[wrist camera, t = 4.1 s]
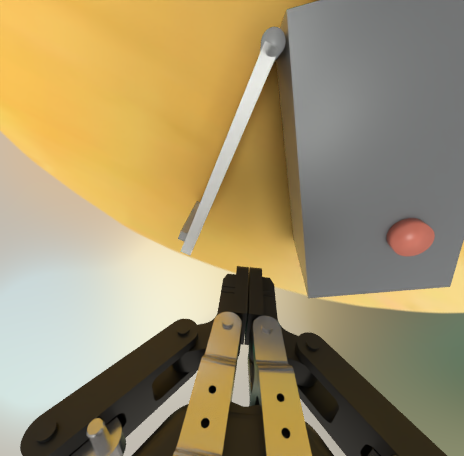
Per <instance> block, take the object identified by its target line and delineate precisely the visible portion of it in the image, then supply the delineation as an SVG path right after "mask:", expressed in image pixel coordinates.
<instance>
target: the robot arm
mask: <svg viewBox="0 0 464 456" xmlns="http://www.w3.org/2000/svg"><path fill="white" fill-rule="evenodd" d="M244 336H245V345H249V354H248V375H249V394H250V404H249V407H243V406H240V405H238V404H235V403H233V402H232V394H233V387H234V380H235V372H236V366H237V359H238V356H239V353H240V345H241V344H243V343H244ZM197 370H198V373H197V376H196V380H195V383H194V387H193V390H192V394H191V398H190V401H189V404H188V405H185V406H183V407H181V408H179V409H178V410H176V411H175V412H174V413H173V414H171V415H170V416H169V417H168V418H167V419H166V420H165V421H164V422H163V423H162V425H161V426H160V427H159V428H158V429H157V430H156V431H155V432H154V433H153V434H152V435H151V436H150V437H149V438H148V439H147V440H146V441H145V442H144V443H143V444H142V445H141V446H140V448H139V449H138V450H137V451H136V452H135V453H134V454H133V455H132V456H334V455H333V454H332V452H331V451H330V450H329V448H328V447H327V446H326V444H325V443H324V441H323V440H322V439H321V437H320V436H319V435H318V433H317V432H316V431H315V430H314V429H313V428H312V427H311V426H310V425H309V424H308V423H307V422H305V421H304V416H303V412H302V407H301V402H300V399H301V400H302V401H303V402H304V404H305V405H306V406H307V407H308V408H309V410H310V411H311V412H312V414H313V415H314V416H315V417H316V418H317V420H318V421H319V422H320V424H321V425H322V426H323V427H324V429H325V430H326V431H327V432H328V434H329V435H330V436H331V437H332V439H333V440H334V441H335V442H336V444H337V445H338V446H339V447H340V448H341V450H342V451H343V452H344V453H345V455H346V456H447V455H446V454H445V453H444V452H443V451H442V450H440V449H439V448H438V447H437V446H436V445H435V444H434V443H433V442H432V441H431V440H430V439H429V438H428V437H427V436H426V435H424V434H423V433H422V432H421V431H420V430H419V429H418V428H417V427H416V426H415V425H414V424H413V423H412V422H411V421H409V420H408V419H407V418H406V417H405V416H404V415H403V414H402V413H401V412H400V411H399V410H398V409H397V408H396V407H395V406H393V405H392V404H391V403H390V402H389V401H388V400H387V399H386V398H385V397H384V396H383V395H382V394H381V393H379V392H378V391H377V390H376V389H375V388H374V387H373V386H372V385H371V384H370V383H369V382H368V381H367V380H366V379H365V378H364V377H362V376H361V375H360V374H359V373H358V372H357V371H356V370H355V369H354V368H353V367H352V366H351V365H349V364H348V363H347V362H346V361H345V360H344V359H343V358H342V357H341V356H340V355H339V354H338V353H337V352H336V351H335V350H334V349H333V348H331V347H330V346H329V345H328V344H327V343H326V342H325V341H324V340H323V339H322V338H321V337H319V336H318V335H316V334H313V333H303V334H301V335H300V336H297V335H294V334H292V333H290V332H288V331H286V330H284V329H283V328H282V327H281V325H280V324H279V322H278V319H277V310H276V301H275V291H274V284H273V282H272V281H271V279H270V278H265V277H262V269H261V268H251V267H250V269H249V267H240V266H237V272H236V275H234V274H227V275H226V277H225V278H224V279H223V284H222V290H221V296H220V302H219V308H218V313H217V315H216V317H215V318H214V319H213V320H212V321H210V322H208V323H205V324H200V325H197V324H196V323H195V322H194V321H192V320H190V319H180V320H177V321H176V322H174V323H173V324H171V325H170V326H168V327H167V328H165V329H164V330H163V331H161V332H160V333H158V334H157V335H155V336H154V337H152V338H151V339H150V340H148V341H147V342H145V343H144V344H142V345H141V346H140V347H138V348H137V349H135V350H134V351H132V352H131V353H130V354H128V355H127V356H125V357H124V358H122V359H121V360H119V361H118V362H117V363H115V364H114V365H112V366H111V367H109V368H108V369H107V370H105V371H104V372H102V373H101V374H100V375H98V376H96V377H95V378H94V379H92V380H91V381H89V382H88V383H87V384H85V385H84V386H82V387H81V388H79V389H78V390H76V391H75V392H74V393H72V394H71V395H70V396H68V397H66V398H65V399H63V400H62V401H61V402H59V403H58V404H56V405H55V406H53V407H52V408H51V409H49V410H48V411H46V412H45V413H44V414H42V415H41V416H39V417H38V418H37V419H36V420H35V421H34V422H33V423H32V424H31V425H30V426H29V427H28V429H27V430H26V432H25V434H24V436H23V438H22V441H21V447H20V449H21V453H22V455H23V456H123V454H124V451H125V448H126V439H125V438H126V437H127V436H128V435H129V434H130V433H131V432H132V431H133V430H135V429H136V428H137V427H138V426H139V425H140V424H141V423H142V422H143V421H144V420H145V419H147V417H149V416H150V415H151V414H152V413H153V412H154V411H155V410H156V409H157V408H158V407H159V406H161V405H162V404H163V403H164V402H165V401H166V400H167V399H168V398H169V397H170V396H171V395H172V394H174V393H175V392H176V391H177V390H178V389H179V388H180V387H181V386H182V385H183V384H184V383H185V382H186V381H188V380H189V378H191V377H192V376H193V375H194V374H195V373H196V371H197Z"/></svg>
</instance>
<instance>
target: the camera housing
mask: <svg viewBox="0 0 464 456" xmlns="http://www.w3.org/2000/svg"><path fill="white" fill-rule="evenodd" d="M280 29H281V30H282V31H283V32H284V34H285V38H286V43H285V47H284V49H283V51H282V52H281V54H280V55H279V57H278V58H277V60H276V66H277V76H278V86H279V96H280V106H281V117H282V127H283V137H284V147H285V157H286V167H287V178H288V188H289V198H290V208H291V218H292V228H293V239H294V243H295V247H296V251H297V255H298V259H299V263H300V267H301V271H302V275H303V279H304V283H305V287H306V291H307V295H308V298H317V297H329V296H341V295H353V294H366V293H378V292H390V291H402V290H415V289H427V288H439V287H450V285H451V282H452V278H453V275H454V271H455V268H456V264H457V261H458V257H459V254H460V250H461V247H462V243H463V240H464V0H319V1H315V2H312V3H308V4H305V5H301V6H298V7H294V8H290V9H287V10H286V13H285V16H284V18H283V21H282V23H281V26H280Z"/></svg>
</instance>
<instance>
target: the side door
mask: <svg viewBox="0 0 464 456" xmlns="http://www.w3.org/2000/svg"><path fill="white" fill-rule="evenodd" d="M285 43H286V38H285V34H284V32H283V31H282V30H281V29H280V28H278V27H271V28H269V29H267V30H266V31H265V33H264V34H263V36H262V40H261V48H260V55H259V57H258V60H257V62H256V65H255V67H254V70H253V72H252V75H251V77H250V80H249V82H248V85H247V87H246V90H245V92H244V95H243V97H242V100H241V102H240V105H239V107H238V110H237V112H236V115H235V117H234V120H233V122H232V125H231V127H230V130H229V132H228V135H227V137H226V139H225V142H224V144H223V147H222V149H221V152H220V154H219V157H218V159H217V162H216V164H215V167H214V169H213V172H212V174H211V177H210V179H209V182H208V184H207V187H206V189H205V192H204V194H203V197H202V199H201V202H198V201H197V202H196V204H195V206H194V208H193V209H192V211H191V213H190V215H189V217H188V219H187V221H186V223H185V224H184V226H183V228H182V230H181V232H180V235H179V237H178V239H180V240H182V241H185V242H184V244H183V247H182V249H181V252H183V253H185V254H188V255H191V252H192V250H193V248H194V246H195V243H196V241H197V239H198V236H199V234H200V232H201V229H202V227H203V225H204V222H205V220H206V218H207V215H208V213H209V211H210V208H211V206H212V204H213V201H214V199H215V197H216V194H217V192H218V190H219V188H220V185H221V183H222V181H223V178H224V176H225V174H226V171H227V169H228V167H229V164H230V162H231V160H232V157H233V155H234V153H235V150H236V148H237V146H238V143H239V141H240V139H241V136H242V134H243V132H244V130H245V127H246V125H247V123H248V120H249V118H250V116H251V113H252V111H253V109H254V106H255V104H256V102H257V99H258V97H259V95H260V92H261V90H262V88H263V85H264V83H265V81H266V79H267V76H268V74H269V72H270V69H271V67H272V66H273V64H274V63H275V61H276V60H277V58H278V57H279V55H280V54H281V52H282V51H283V49H284V47H285Z"/></svg>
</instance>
